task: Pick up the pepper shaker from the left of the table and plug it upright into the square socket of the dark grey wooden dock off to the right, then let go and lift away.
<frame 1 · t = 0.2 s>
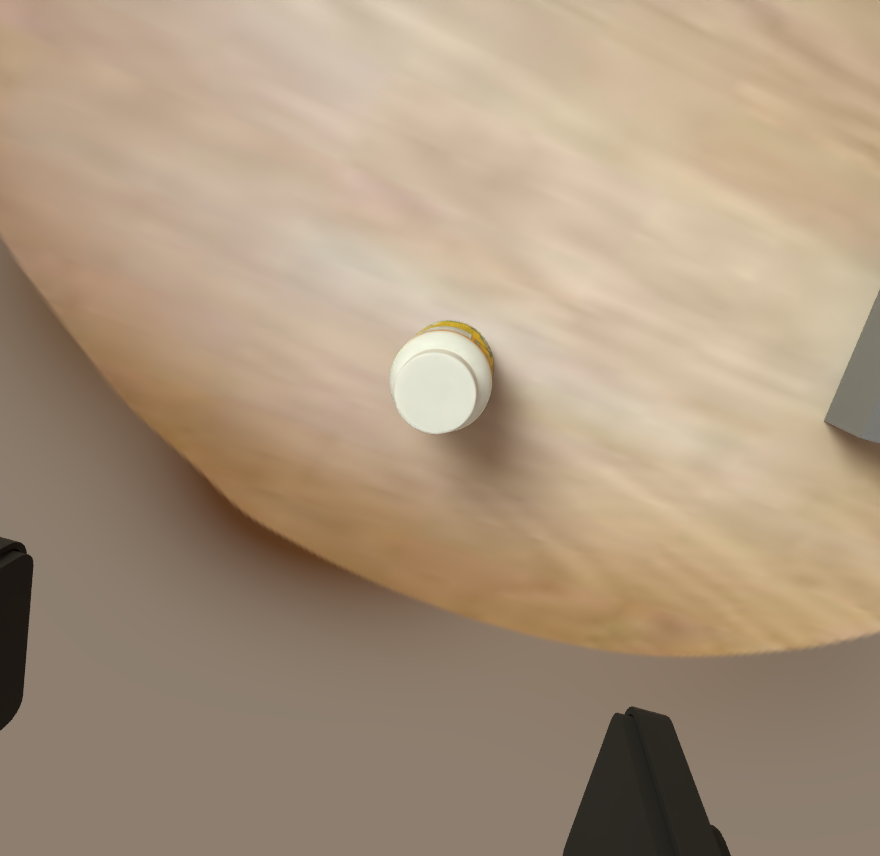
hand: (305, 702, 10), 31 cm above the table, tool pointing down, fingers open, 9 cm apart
supplement bottle: (450, 363, 40), on the table
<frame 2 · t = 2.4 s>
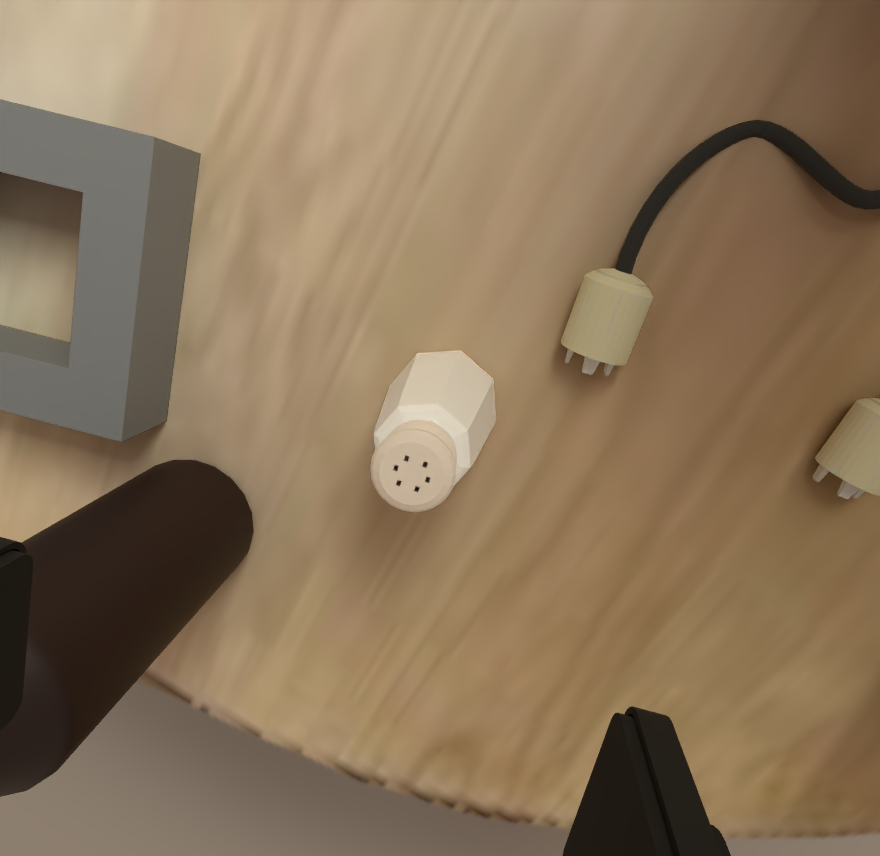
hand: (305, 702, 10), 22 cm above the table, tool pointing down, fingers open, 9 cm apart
cable: (769, 281, 29), on the table
dock: (55, 262, 31), on the table
dark brown water bottle: (195, 516, 34), on the table
pepper shaker: (443, 401, 31), on the table
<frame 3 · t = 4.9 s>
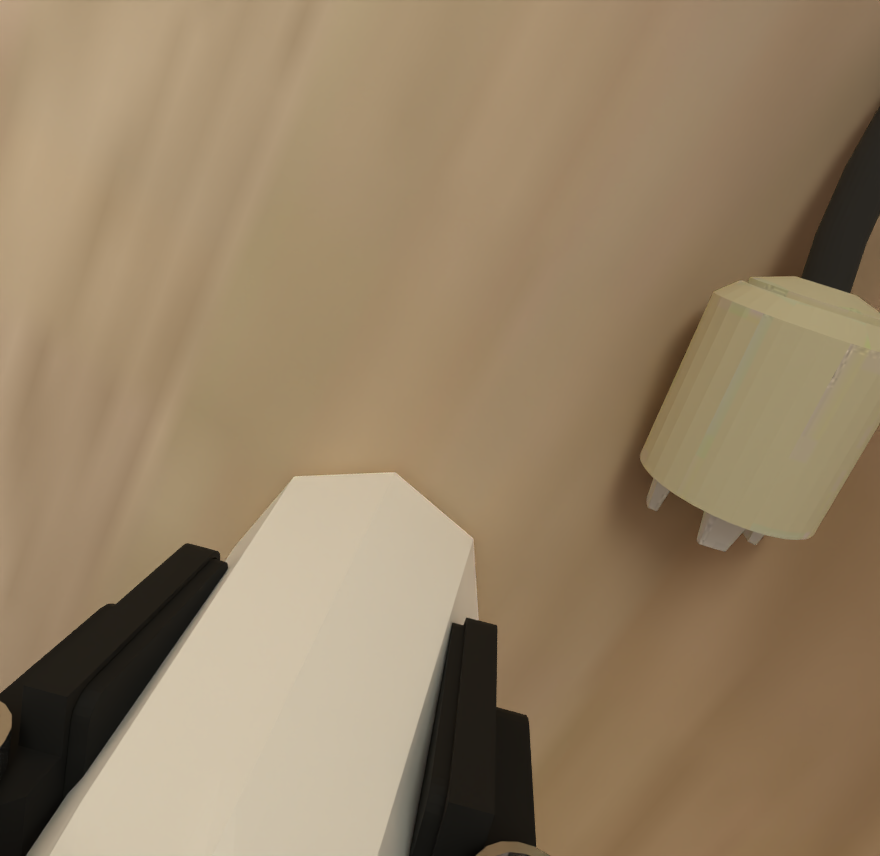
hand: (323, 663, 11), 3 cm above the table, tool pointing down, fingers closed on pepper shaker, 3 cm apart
pepper shaker: (360, 579, 14), on the table, touching gripper
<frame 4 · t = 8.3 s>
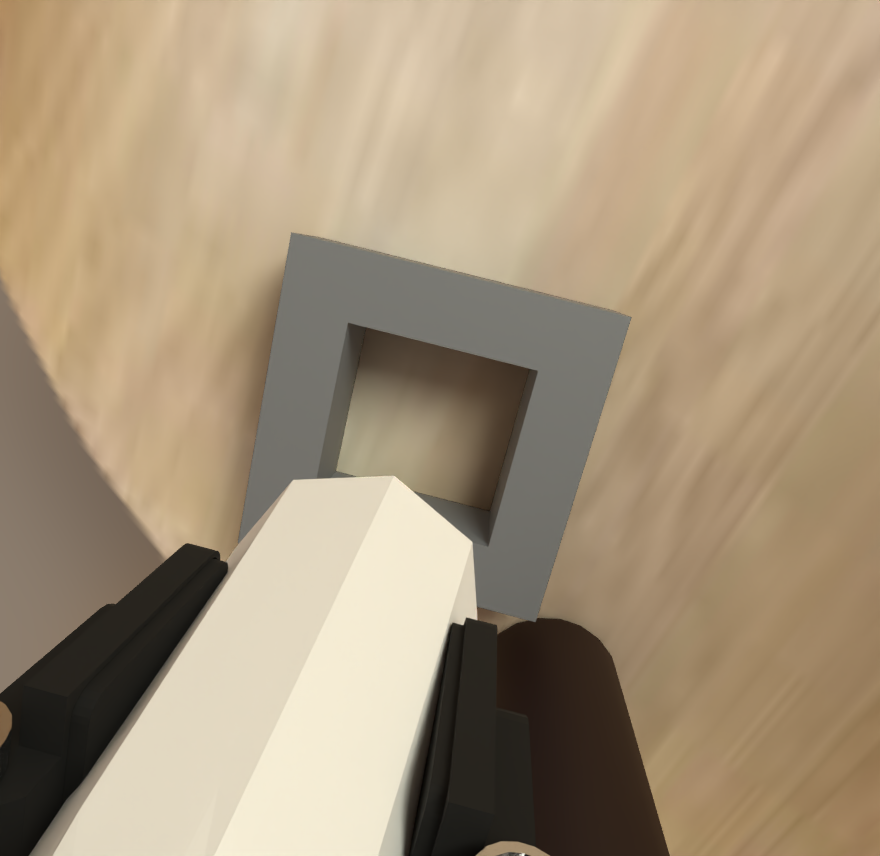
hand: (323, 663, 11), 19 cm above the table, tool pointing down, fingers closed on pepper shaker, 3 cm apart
dock: (430, 416, 29), on the table
dark brown water bottle: (546, 673, 32), on the table
pepper shaker: (359, 583, 14), point 16 cm above the table, touching gripper
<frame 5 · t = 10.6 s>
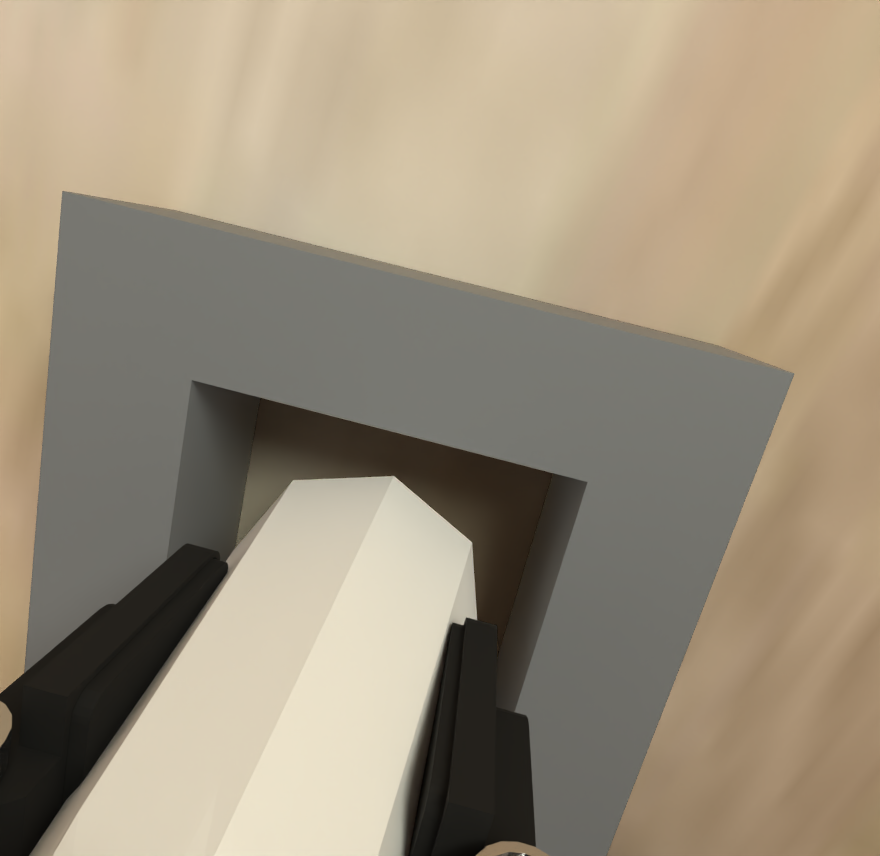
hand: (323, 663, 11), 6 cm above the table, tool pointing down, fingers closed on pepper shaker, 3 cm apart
dock: (383, 528, 17), on the table
pepper shaker: (359, 583, 14), point 3 cm above the table, touching gripper
when the fingers open (5 cm above the table, at t = 12.0 s): pepper shaker drops 2 cm, resting in dock.
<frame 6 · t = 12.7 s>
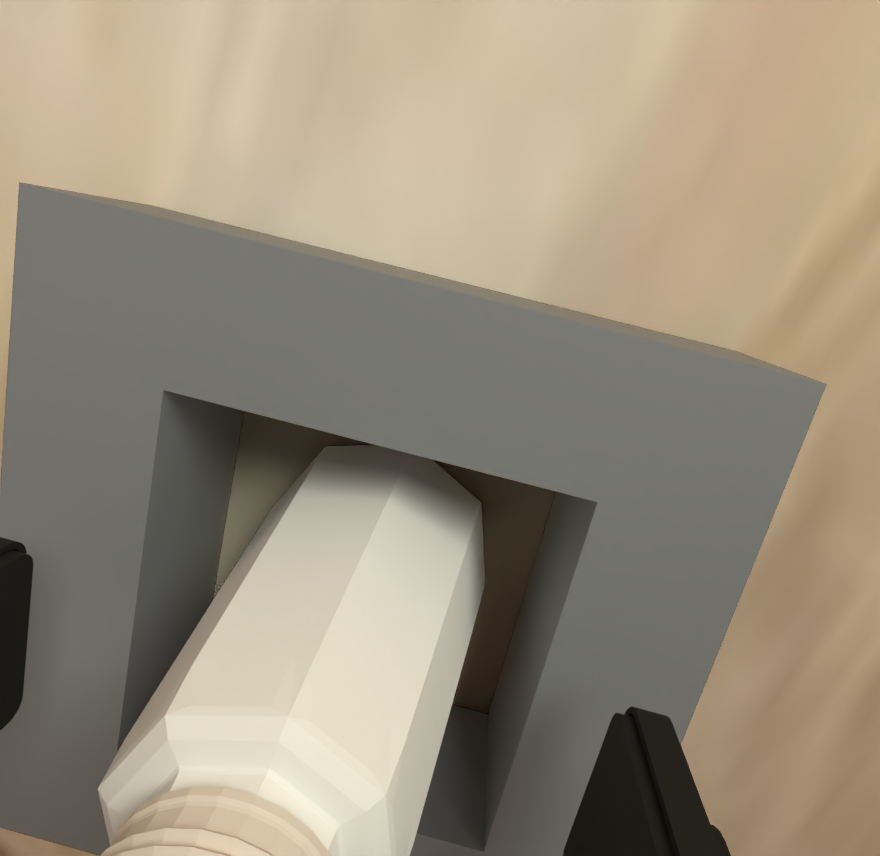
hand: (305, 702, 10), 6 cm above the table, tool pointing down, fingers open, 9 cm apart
dock: (376, 545, 16), on the table
pepper shaker: (381, 539, 16), resting in dock
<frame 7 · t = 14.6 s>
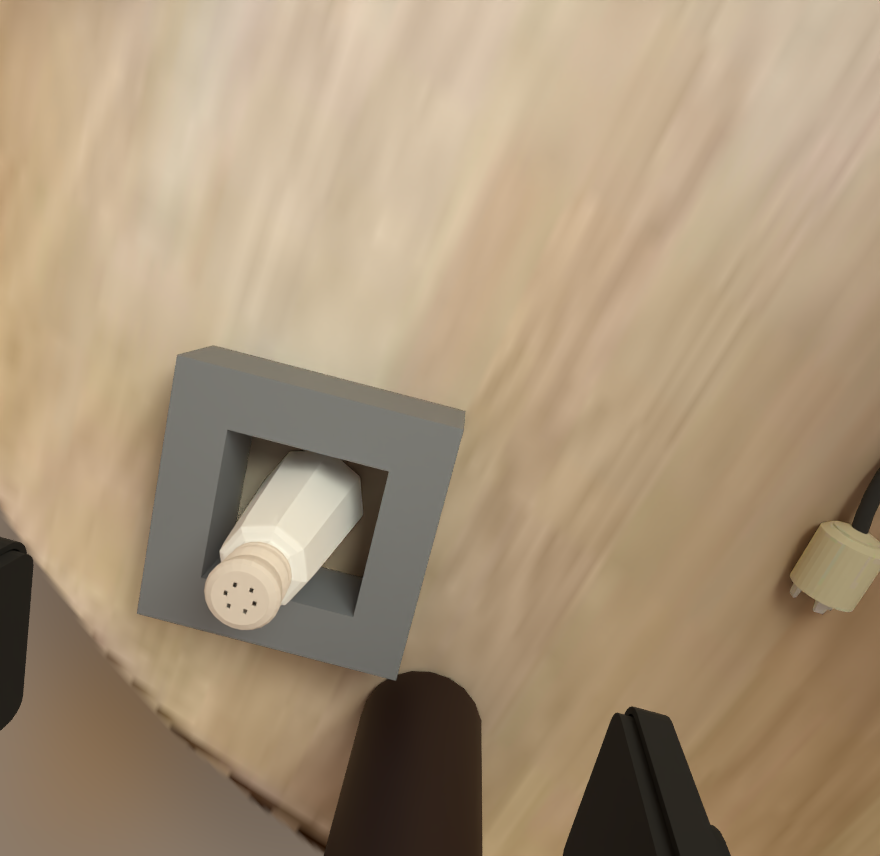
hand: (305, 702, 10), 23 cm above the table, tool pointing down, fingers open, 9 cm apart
dock: (313, 497, 34), on the table
dark brown water bottle: (421, 718, 37), on the table
pepper shaker: (315, 495, 34), resting in dock
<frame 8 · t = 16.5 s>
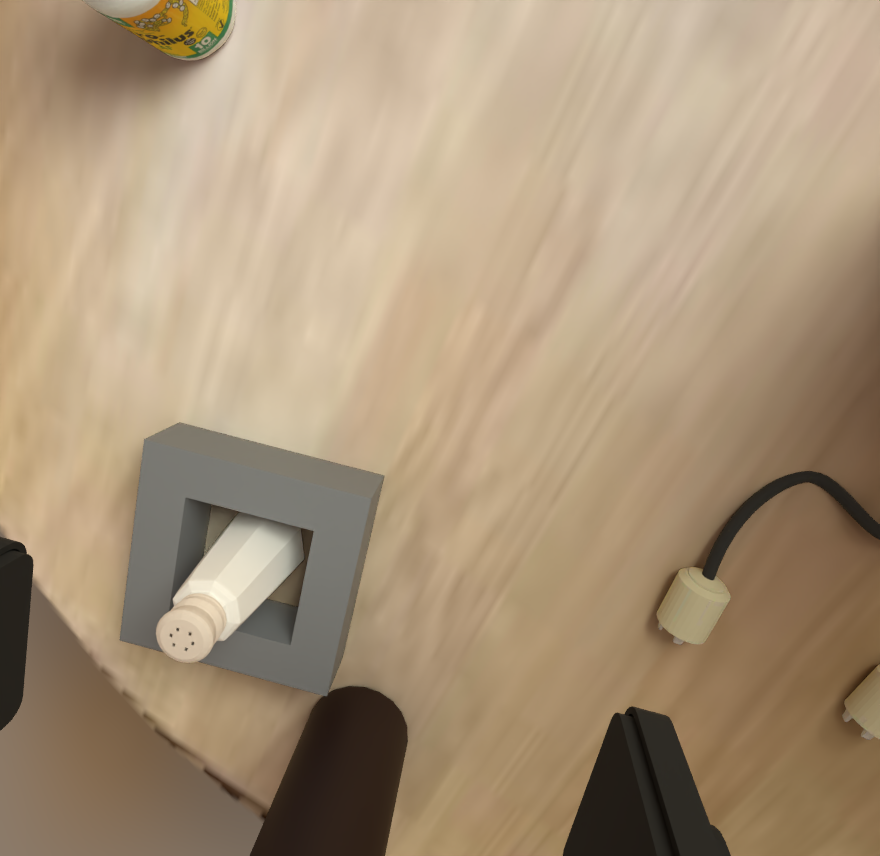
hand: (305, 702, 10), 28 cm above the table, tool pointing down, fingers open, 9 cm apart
cable: (813, 573, 39), on the table
dock: (263, 544, 41), on the table
dark brown water bottle: (359, 724, 44), on the table
pepper shaker: (266, 541, 41), resting in dock
supplement bottle: (191, 8, 34), on the table
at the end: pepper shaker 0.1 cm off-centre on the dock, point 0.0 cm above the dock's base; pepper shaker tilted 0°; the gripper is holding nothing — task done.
